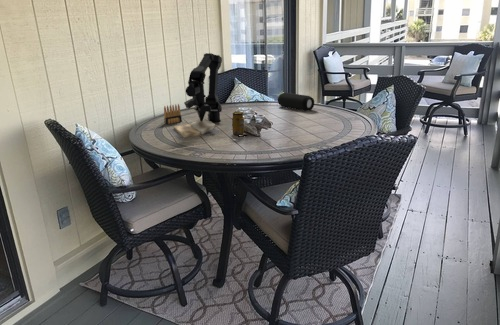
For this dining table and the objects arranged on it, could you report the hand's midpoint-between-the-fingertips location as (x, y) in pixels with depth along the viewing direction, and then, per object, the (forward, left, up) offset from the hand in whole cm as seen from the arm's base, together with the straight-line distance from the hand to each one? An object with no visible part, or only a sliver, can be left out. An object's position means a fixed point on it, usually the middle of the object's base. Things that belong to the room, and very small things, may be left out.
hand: (201, 120), depth 229 cm
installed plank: (+10, +5, -4) cm, 12 cm away
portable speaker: (-74, -18, -5) cm, 76 cm away
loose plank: (+1, +5, -2) cm, 6 cm away
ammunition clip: (+11, -20, -5) cm, 23 cm away
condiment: (-13, +22, -5) cm, 26 cm away
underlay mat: (+6, +5, -5) cm, 10 cm away
